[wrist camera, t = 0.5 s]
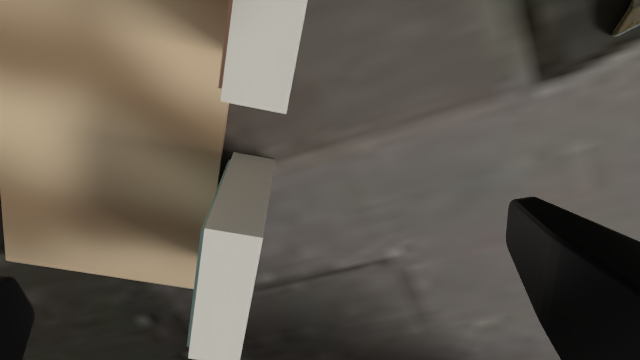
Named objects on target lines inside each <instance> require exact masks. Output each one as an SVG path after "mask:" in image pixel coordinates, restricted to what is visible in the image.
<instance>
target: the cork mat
mask: <svg viewBox="0 0 640 360" xmlns="http://www.w3.org/2000/svg"><path fill="white" fill-rule="evenodd" d="M228 4H229V0H0V194H1V206H2V219H3V231H4V243H5V256H6V261H12V262H18V263H25V264H32V265H38V266H45V267H51V268H58V269H65V270H71V271H78V272H84V273H91V274H98V275H104V276H111V277H117V278H124V279H131V280H137V281H144V282H150V283H157V284H164V285H170V286H177V287H183V288H190V289H194V282H195V274H196V266H197V258H198V250H199V242H200V233H201V229H202V226H203V224H204V221H205V219H206V216H207V214H208V211H209V208H210V206H211V203H212V201H213V198H214V196H215V193H216V191H217V188H218V183H219V175H220V168H221V160H222V153H223V145H224V138H225V131H226V123H227V116H228V108H229V103H227V102H222V101H220V100H221V92H222V89H220V88H218V86H219V78H220V69H221V61H222V53H223V45H224V37H225V29H226V20H227V12H228Z"/></svg>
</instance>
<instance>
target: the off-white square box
mask: <svg viewBox="0 0 640 360" xmlns="http://www.w3.org/2000/svg"><path fill="white" fill-rule="evenodd" d="M274 166H275V160H274V159H269V158H264V157H258V156H253V155H247V154H242V153H236V152H233V155H232V157H231V160H228V163H227V165H226V168H225V170H224V173H223V175H222V178H221V180H220V183H219V185H218V188H217V191H216V193H215V196H214V198H213V201H212V203H211V206H210V208H209V211H208V214H207V216H206V219H205V221H204V224H203V226H202V229H201V233H200V242H199V250H198V258H197V266H196V274H195V282H194V291H193V299H192V307H191V315H190V323H189V331H188V339H187V347H189V355H188V358H189V359H196V360H240V358H241V353H242V347H243V342H244V337H245V331H246V326H247V321H248V315H249V310H250V305H251V299H252V294H253V289H254V283H255V278H256V273H257V267H258V262H259V257H260V251H261V246H262V241H263V235H264V229H265V222H266V216H267V210H268V203H269V197H270V191H271V184H272V178H273V172H274Z"/></svg>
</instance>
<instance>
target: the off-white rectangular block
mask: <svg viewBox="0 0 640 360" xmlns="http://www.w3.org/2000/svg"><path fill="white" fill-rule="evenodd" d="M307 1H308V0H229V4H228V12H227V20H226V29H225V37H224V45H223V53H222V61H221V69H220V78H219V86H218V88H220V89H222V92H221V100H220V101H222V102H227V103H232V104H237V105H242V106H247V107H252V108H257V109H263V110H268V111H273V112H278V113H283V114H286V113H287V107H288V102H289V97H290V91H291V86H292V81H293V75H294V70H295V65H296V59H297V54H298V49H299V43H300V38H301V33H302V27H303V22H304V17H305V11H306V6H307Z"/></svg>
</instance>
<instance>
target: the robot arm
mask: <svg viewBox="0 0 640 360" xmlns="http://www.w3.org/2000/svg"><path fill="white" fill-rule="evenodd" d="M506 243H507V247H508V250H509V252H510V255H511V257H512V259H513V262H514V264H515V266H516V269H517V271H518V273H519V276H520V278H521V280H522V283H523V285H524V287H525V290H526V292H527V294H528V297H529V299H530V301H531V304H532V306H533V308H534V310H535V313H536V315H537V317H538V319H539V321H540V323H541V325H542V327H543V329H544V330H545V332H546V334H547V336H548V338H549V339H550V341H551V343H552V345H553V346H554V348H555V350H556V352H557V353H558V355H559V357H560V359H561V360H640V242H639V241H637V240H635V239H632V238H630V237H628V236H625V235H623V234H621V233H618V232H616V231H614V230H611V229H609V228H607V227H604V226H602V225H600V224H597V223H595V222H593V221H590V220H588V219H586V218H583V217H581V216H579V215H576V214H574V213H572V212H569V211H567V210H565V209H562V208H560V207H558V206H555V205H553V204H551V203H548V202H546V201H544V200H541V199H539V198H537V197H526V198H520V199H514V200H512V201H511V202H510V204H509V208H508V219H507V230H506ZM34 321H35V311H34V307H33V305H32V304H31V302H30V300H29V299H28V297H27V295H26V294H25V292H24V290H23V289H22V287H21V286H20V284H19V282H18V281H17V279H16V278H14V277H13V276H9V275H5V276H0V360H24V356H25V353H26V349H27V346H28V342H29V339H30V335H31V332H32V328H33V325H34Z"/></svg>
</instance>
